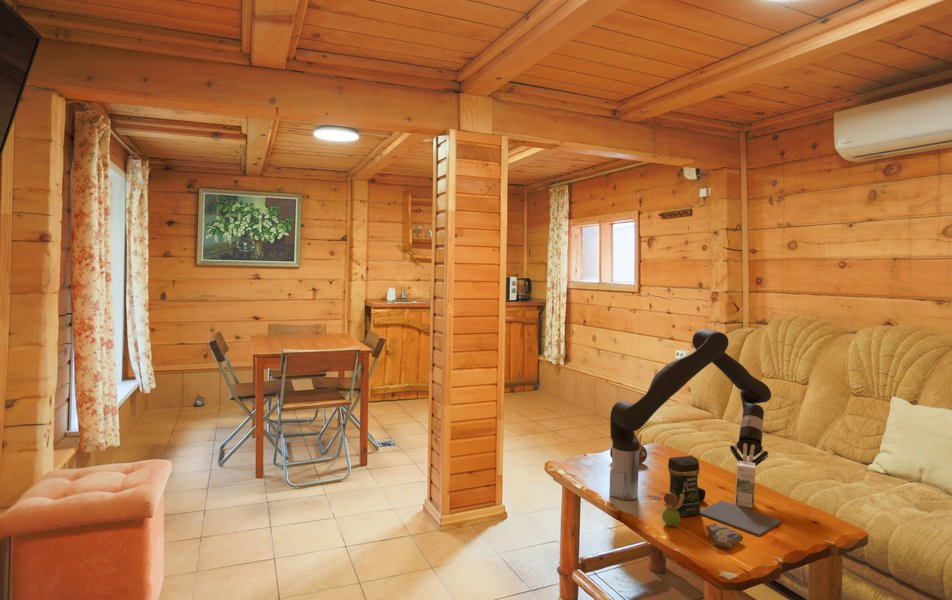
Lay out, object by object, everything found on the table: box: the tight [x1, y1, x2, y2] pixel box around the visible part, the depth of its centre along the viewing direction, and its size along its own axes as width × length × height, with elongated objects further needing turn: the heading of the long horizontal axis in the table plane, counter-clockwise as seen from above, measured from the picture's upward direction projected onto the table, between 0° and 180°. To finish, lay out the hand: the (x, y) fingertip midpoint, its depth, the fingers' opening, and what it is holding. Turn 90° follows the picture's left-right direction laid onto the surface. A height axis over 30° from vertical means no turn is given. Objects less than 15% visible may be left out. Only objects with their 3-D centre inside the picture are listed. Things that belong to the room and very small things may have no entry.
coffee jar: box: [667, 455, 701, 517], centre depth 187 cm, size 10×8×19 cm
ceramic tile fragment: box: [705, 522, 744, 550], centre depth 168 cm, size 12×3×10 cm
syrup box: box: [734, 460, 757, 510], centre depth 194 cm, size 6×6×14 cm
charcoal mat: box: [698, 499, 783, 537], centre depth 184 cm, size 16×20×1 cm
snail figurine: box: [661, 490, 685, 527], centre depth 177 cm, size 5×6×12 cm
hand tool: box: [698, 486, 706, 502], centre depth 208 cm, size 23×5×6 cm, turn 4°
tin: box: [609, 444, 648, 465], centre depth 235 cm, size 15×3×8 cm, turn 90°
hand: (746, 473), depth 198 cm, fingers closed
